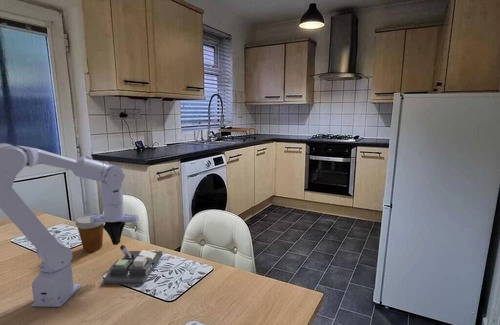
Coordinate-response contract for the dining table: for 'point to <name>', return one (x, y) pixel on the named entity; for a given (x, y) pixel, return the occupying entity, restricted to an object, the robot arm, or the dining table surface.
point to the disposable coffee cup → (90, 233)
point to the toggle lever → (125, 251)
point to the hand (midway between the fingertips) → (116, 243)
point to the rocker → (147, 254)
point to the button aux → (140, 261)
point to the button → (121, 263)
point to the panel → (131, 270)
